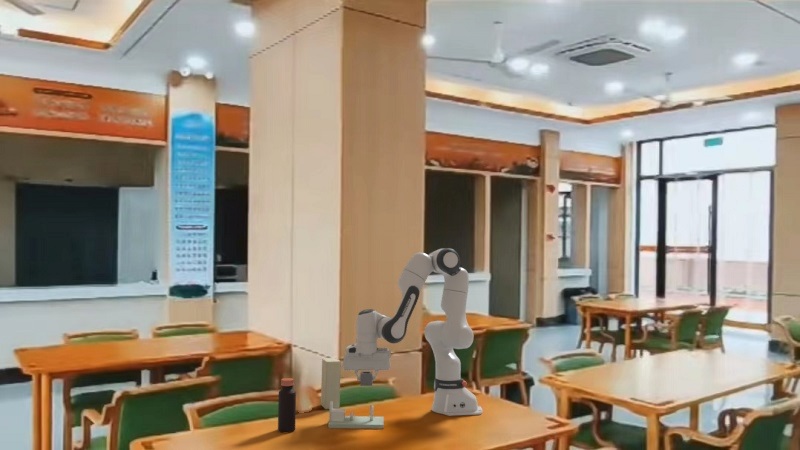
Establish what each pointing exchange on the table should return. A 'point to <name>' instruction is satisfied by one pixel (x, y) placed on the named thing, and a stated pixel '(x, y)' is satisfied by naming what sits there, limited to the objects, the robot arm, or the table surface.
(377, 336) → the robot arm
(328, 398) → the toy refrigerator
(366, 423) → the base
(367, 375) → the collar
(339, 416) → the cover
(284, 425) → the bottle
